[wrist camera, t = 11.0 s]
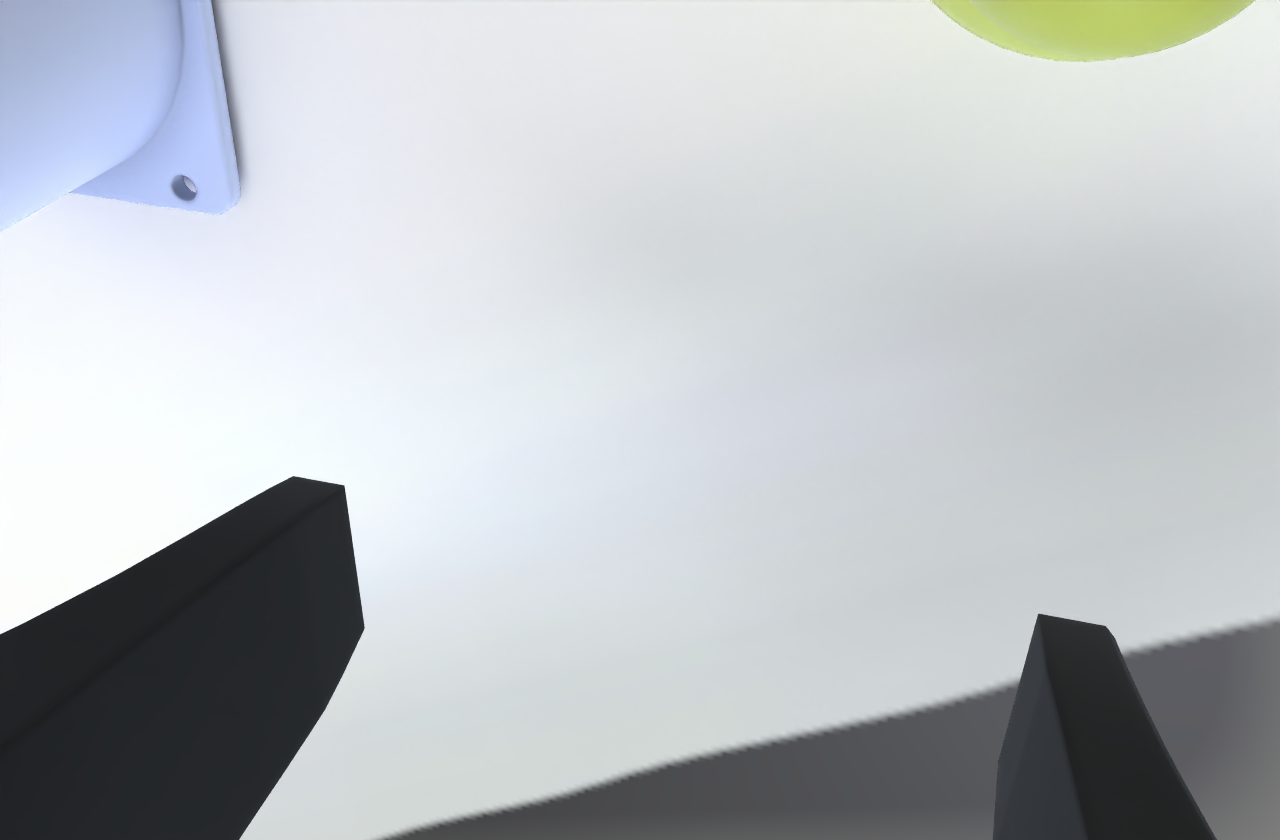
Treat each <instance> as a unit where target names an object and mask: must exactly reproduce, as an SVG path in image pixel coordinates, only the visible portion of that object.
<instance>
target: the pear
mask: <svg viewBox="0 0 1280 840" xmlns="http://www.w3.org/2000/svg"><path fill="white" fill-rule="evenodd" d="M930 1H931V2H932V3H934V4H935V5H936V6H937V7H938V8H939V9H940V10H942V11H943V12H944V13H945V14H946V15H947V16H948V17H950V18H951V19H952V20H953V21H954V22H956V23H957V24H959V25H961V26H962V27H964V28H965V29H967V30H968V31H970V32H971V33H973V34H974V35H976V36H978V37H980V38H982V39H984V40H986V41H988V42H991V43H993V44H995V45H997V46H999V47H1001V48H1004V49H1008V50H1011V51H1014V52H1017V53H1020V54H1024V55H1027V56H1032V57H1038V58H1044V59H1049V60H1055V61H1079V62H1087V61H1099V60H1112V59H1118V58H1123V57H1133V56H1138V55H1143V54H1148V53H1153V52H1158V51H1161V50H1164V49H1167V48H1170V47H1173V46H1176V45H1179V44H1182V43H1185V42H1187V41H1189V40H1192V39H1194V38H1196V37H1198V36H1200V35H1203V34H1205V33H1207V32H1209V31H1211V30H1213V29H1214V28H1216V27H1218V26H1219V25H1221V24H1223V23H1224V22H1226V21H1228V20H1229V19H1231V18H1233V17H1234V16H1236V15H1237V14H1238V13H1240V12H1241V11H1242V10H1244V9H1245V8H1246V7H1248V6H1249V5H1250V4H1252V3H1253V2H1254V1H1256V0H930Z"/></svg>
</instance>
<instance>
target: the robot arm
mask: <svg viewBox="0 0 1280 840" xmlns="http://www.w3.org/2000/svg"><path fill="white" fill-rule="evenodd" d="M183 175H184V176H186V177H188V178H189V179H190V180H191V181H192V182H193V183H194V185H195V187H196V193H195V192H193V191H191V190H190V189H189V188H188V187H187V186H186V184H185V182H184V180H183ZM240 189H241V188H240V181H239V175H238V169H237V162H236V156H235V150H234V143H233V137H232V130H231V124H230V118H229V111H228V105H227V98H226V92H225V86H224V79H223V73H222V67H221V60H220V54H219V47H218V41H217V35H216V28H215V22H214V16H213V9H212V3H211V0H0V232H1V231H2V230H4V229H6V228H8V227H9V226H11V225H13V224H15V223H16V222H18V221H20V220H22V219H23V218H25V217H27V216H29V215H30V214H32V213H34V212H36V211H37V210H39V209H41V208H42V207H44V206H46V205H48V204H49V203H51V202H53V201H55V200H56V199H58V198H60V197H62V196H63V195H65V194H67V193H71V194H78V195H84V196H91V197H98V198H105V199H111V200H118V201H125V202H131V203H138V204H145V205H152V206H158V207H165V208H172V209H178V210H185V211H192V212H199V213H205V214H212V215H215V214H223V213H224V212H226V211H227V210H229V209H230V208H232V207H233V206H235V205H236V204H237V202H238V200H239V198H240ZM364 628H365V627H364V620H363V613H362V606H361V599H360V592H359V585H358V578H357V571H356V564H355V557H354V550H353V543H352V536H351V529H350V522H349V514H348V507H347V500H346V493H345V486H344V485H338V484H333V483H328V482H322V481H317V480H311V479H306V478H300V477H295V476H293V477H291V478H289V479H287V480H285V481H283V482H281V483H279V484H277V485H275V486H273V487H271V488H269V489H267V490H266V491H264V492H262V493H260V494H258V495H257V496H255V497H253V498H251V499H249V500H248V501H246V502H244V503H242V504H241V505H239V506H237V507H235V508H234V509H232V510H230V511H228V512H227V513H225V514H223V515H221V516H220V517H218V518H216V519H215V520H213V521H211V522H209V523H208V524H206V525H204V526H202V527H201V528H199V529H197V530H195V531H194V532H192V533H190V534H189V535H187V536H185V537H183V538H181V539H180V540H178V541H176V542H174V543H173V544H171V545H169V546H167V547H166V548H164V549H162V550H160V551H159V552H157V553H155V554H153V555H151V556H150V557H148V558H146V559H144V560H143V561H141V562H139V563H137V564H136V565H134V566H132V567H130V568H128V569H127V570H125V571H123V572H121V573H120V574H118V575H116V576H114V577H112V578H110V579H108V580H106V581H104V582H102V583H101V584H99V585H97V586H95V587H93V588H91V589H89V590H87V591H85V592H83V593H81V594H79V595H77V596H75V597H74V598H72V599H70V600H68V601H66V602H64V603H62V604H60V605H58V606H56V607H54V608H52V609H50V610H48V611H46V612H45V613H43V614H41V615H39V616H37V617H35V618H33V619H31V620H29V621H27V622H25V623H23V624H21V625H19V626H17V627H15V628H13V629H11V630H9V631H6V632H4V633H2V634H0V840H239V839H240V837H241V836H242V834H243V833H244V831H245V830H246V828H247V827H248V825H249V824H250V822H251V821H252V819H253V818H254V816H255V815H256V813H257V812H258V810H259V809H260V807H261V806H262V804H263V803H264V801H265V800H266V798H267V797H268V795H269V794H270V793H271V791H272V790H273V788H274V787H275V785H276V784H277V782H278V781H279V779H280V778H281V776H282V775H283V773H284V772H285V770H286V769H287V767H288V766H289V764H290V763H291V761H292V760H293V758H294V756H295V755H296V753H297V752H298V750H299V749H300V747H301V746H302V744H303V743H304V741H305V740H306V738H307V737H308V735H309V734H310V732H311V731H312V729H313V728H314V726H315V724H316V723H317V721H318V720H319V718H320V717H321V715H322V713H323V712H324V710H325V709H326V707H327V705H328V703H329V701H330V699H331V697H332V695H333V693H334V691H335V689H336V687H337V685H338V683H339V681H340V679H341V677H342V675H343V673H344V671H345V669H346V667H347V665H348V663H349V661H350V658H351V656H352V654H353V652H354V650H355V648H356V646H357V643H358V641H359V639H360V637H361V635H362V633H363V631H364ZM993 840H1217V839H1216V837H1215V836H1214V834H1213V832H1212V831H1211V829H1210V827H1209V825H1208V824H1207V822H1206V820H1205V818H1204V816H1203V815H1202V813H1201V811H1200V809H1199V807H1198V806H1197V804H1196V802H1195V801H1194V799H1193V797H1192V795H1191V793H1190V791H1189V790H1188V788H1187V786H1186V784H1185V782H1184V781H1183V779H1182V777H1181V775H1180V773H1179V772H1178V770H1177V768H1176V766H1175V764H1174V762H1173V760H1172V758H1171V757H1170V755H1169V753H1168V751H1167V749H1166V747H1165V745H1164V743H1163V741H1162V739H1161V737H1160V735H1159V733H1158V731H1157V729H1156V727H1155V725H1154V723H1153V721H1152V719H1151V717H1150V715H1149V713H1148V711H1147V709H1146V707H1145V705H1144V703H1143V701H1142V698H1141V696H1140V694H1139V692H1138V690H1137V688H1136V686H1135V684H1134V681H1133V679H1132V677H1131V675H1130V672H1129V670H1128V668H1127V666H1126V663H1125V661H1124V659H1123V656H1122V654H1121V652H1120V649H1119V647H1118V645H1117V642H1116V640H1115V638H1114V636H1113V635H1112V634H1111V632H1110V631H1109V630H1108V628H1107V627H1106V626H1102V625H1097V624H1092V623H1086V622H1081V621H1075V620H1070V619H1064V618H1059V617H1054V616H1048V615H1043V614H1038V617H1037V620H1036V624H1035V628H1034V631H1033V635H1032V639H1031V643H1030V646H1029V650H1028V654H1027V657H1026V661H1025V665H1024V668H1023V672H1022V676H1021V680H1020V683H1019V687H1018V691H1017V695H1016V698H1015V702H1014V706H1013V709H1012V713H1011V717H1010V720H1009V724H1008V728H1007V731H1006V735H1005V739H1004V743H1003V746H1002V750H1001V754H1000V757H999V761H998V772H997V786H996V801H995V814H994V830H993Z"/></svg>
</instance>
